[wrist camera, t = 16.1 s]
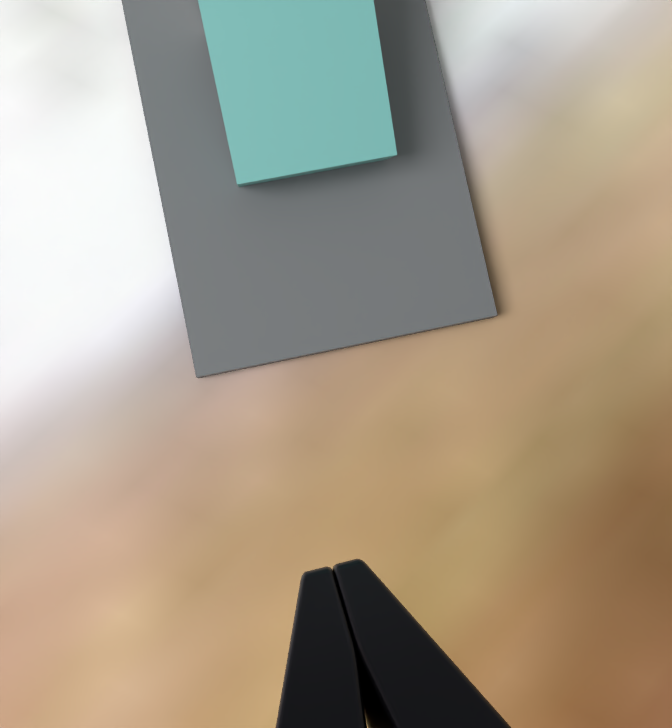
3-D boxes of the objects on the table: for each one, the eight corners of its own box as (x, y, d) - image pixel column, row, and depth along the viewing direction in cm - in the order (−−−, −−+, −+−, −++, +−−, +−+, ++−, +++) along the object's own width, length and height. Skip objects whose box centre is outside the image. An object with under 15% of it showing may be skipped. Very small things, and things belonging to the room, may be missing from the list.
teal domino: (397, 154, 20) (339, -226, 18) (236, 184, 20) (155, -200, 17) (387, 159, 21) (332, -189, 19) (238, 186, 21) (163, -165, 19)
